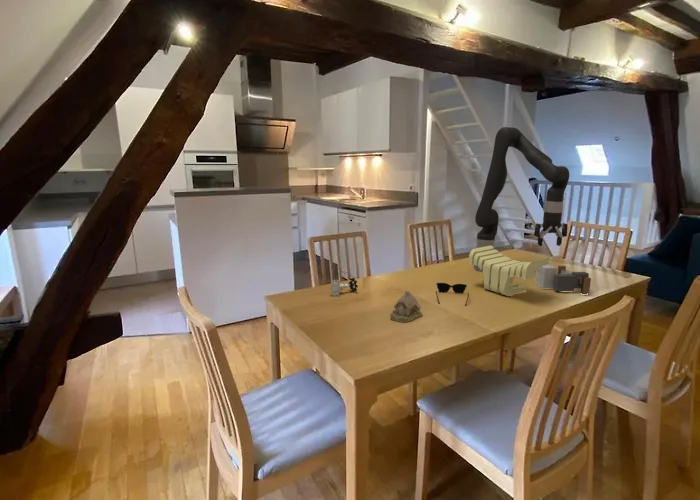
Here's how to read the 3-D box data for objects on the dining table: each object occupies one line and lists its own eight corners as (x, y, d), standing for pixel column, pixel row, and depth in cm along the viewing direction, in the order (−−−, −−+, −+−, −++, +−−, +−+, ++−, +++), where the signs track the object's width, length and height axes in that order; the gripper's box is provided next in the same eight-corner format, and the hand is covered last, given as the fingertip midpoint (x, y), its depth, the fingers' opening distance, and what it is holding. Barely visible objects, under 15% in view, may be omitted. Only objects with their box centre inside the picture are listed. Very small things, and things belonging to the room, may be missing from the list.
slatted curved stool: (467, 285, 192) (469, 249, 188) (488, 279, 200) (491, 245, 196) (522, 304, 167) (527, 263, 163) (544, 296, 176) (549, 257, 172)
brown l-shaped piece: (567, 296, 176) (569, 278, 174) (543, 281, 197) (545, 265, 195) (589, 295, 177) (592, 278, 175) (563, 281, 197) (565, 265, 195)
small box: (554, 289, 185) (557, 267, 183) (542, 289, 185) (545, 267, 183) (546, 284, 193) (548, 263, 190) (534, 284, 193) (537, 263, 190)
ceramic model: (400, 307, 165) (400, 284, 162) (425, 312, 159) (426, 289, 157) (385, 319, 153) (385, 294, 151) (412, 325, 147) (413, 300, 145)
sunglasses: (466, 294, 181) (467, 284, 179) (469, 309, 166) (469, 298, 164) (435, 292, 183) (436, 282, 182) (435, 307, 168) (435, 296, 167)
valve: (334, 297, 176) (357, 293, 182) (334, 283, 175) (357, 279, 181) (328, 293, 182) (350, 289, 188) (327, 279, 181) (350, 275, 186)
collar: (556, 290, 180) (558, 274, 178) (552, 288, 183) (554, 272, 181) (586, 290, 180) (588, 273, 179) (582, 288, 183) (584, 271, 182)
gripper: (564, 209, 185) (559, 243, 189) (533, 209, 184) (530, 244, 188) (573, 212, 177) (568, 247, 181) (541, 212, 177) (538, 247, 181)
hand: (549, 245), depth 185 cm, fingers open, 8 cm apart
